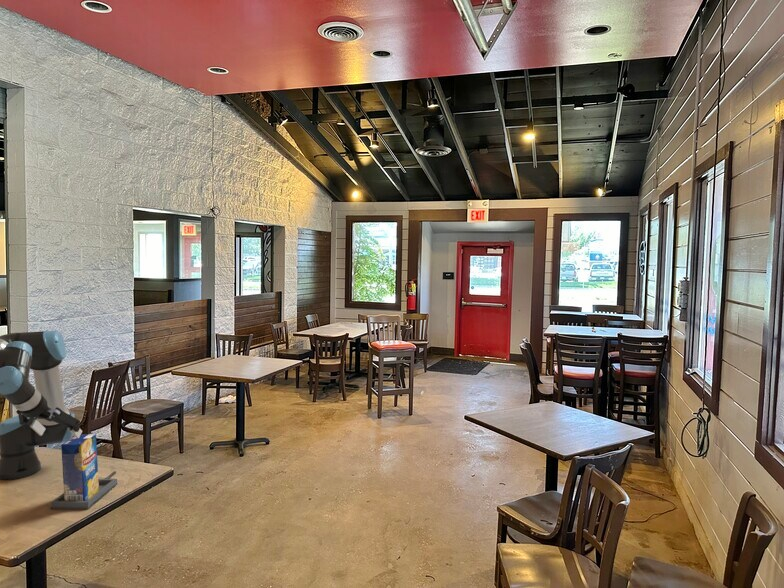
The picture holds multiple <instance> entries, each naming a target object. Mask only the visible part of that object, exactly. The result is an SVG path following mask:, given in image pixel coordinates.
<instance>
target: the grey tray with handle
mask: <svg viewBox="0 0 784 588" xmlns="http://www.w3.org/2000/svg"><path fill="white" fill-rule="evenodd" d="M116 473H117V471H116V470H114V471H113V472H111V473H110V474H109V475H108V476H106V477H105V478H98V481H99V490H98V491H97V492H96V493H95V494H94V495H93V496H92V497H91V498H90V499H88V500H87V501H65V499H64V492H63V493H62V494H60V495H59V496H58V497H56V498H54V499H53V500H52V501H51V502H50V510H89V509H90V508H92V507H93V506H94V505H95V504H97V503H98V502H99V501H100V500H101V499H103V498H104V497H105V496H106V495H107V494H109V493H110V492H111V491H112V490H113V489H114V488H115V487H117V486H118V478H112V477H113V476H115V474H116ZM111 476H112V477H111ZM116 485H117V486H116ZM112 488H113V489H112ZM110 490H111V491H110ZM109 491H110V492H109Z"/></svg>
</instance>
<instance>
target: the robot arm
mask: <svg viewBox="0 0 784 588" xmlns="http://www.w3.org/2000/svg"><path fill="white" fill-rule="evenodd" d="M65 343H66V342H65V340H64V337H63V335H62V333H61V332H59V331H57V330H44V331H43V330H42V331H29V332H28V331H25V332H24V331H23V332H22V331H21V332H11V333H6V334H1V335H0V395H1V396H2V397H4V399H6V400H7V402H9V403H10V404H11V406H13V407H14V408H15V410H16V412H15V413H16V414H17V415H16V416H13V417H9V418H7V419H4V420H2V422H0V480H1V479H11V480H18V479H21V478H22V479H23V478H26V477H29V476H31V475H34V474H37V473H38V472H39V471H40V470H41V469H42V467H41V466H42V465H41V464H42V463H41V461H40V460H39V457H38V454H37V453H36V449H35V447H37V446H45V445H46V446H47V445H52V444H53V445H54V444H61V443H62V444H63V443H65V442H67V441H68V440H70V439H71V438H73V437H74V436H75V437H76V438H79V437H80V435H81V434H82V433H83V430H82V429H81V426H79V425H80V423H81V421H80V420H79V419H77V418H76V417H75V413H73V412H70V410H69V408H67V407H65V401H64V395H63V394H64V393H63V387H62V381H61V374H60V368H59V367H60V365H61V364H62V361H63V360H64V359H65V358H66V354H67V352H66V351H67V350H66V344H65ZM30 371H32V373H33V379H34V385H35V386H34V385H32V383H31V382H30V381H29V378H30ZM17 478H18V479H17Z"/></svg>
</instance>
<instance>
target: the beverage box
mask: <svg viewBox="0 0 784 588" xmlns="http://www.w3.org/2000/svg"><path fill="white" fill-rule="evenodd" d="M60 446H61V447H60V448H61V461H62V462H61V463H62V478H63V480H62V481H63V493H64V499H65V501H87V500H88V499H90V498H91V497H92V496H93V495H94V494H95V493H96V492H97V491H98V490H99V481H98V479H99V468H98V467H99V466H98V465H99V464H98V451H97V449H98V445H97V433H85V434H84V433H83V434H82V433H81V435H80V437H79V438H76V437H75V436H74V435H73V437H72V438H71V439H70V440H68V441H67V442H63V443H62V444H61V445H60Z"/></svg>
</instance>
